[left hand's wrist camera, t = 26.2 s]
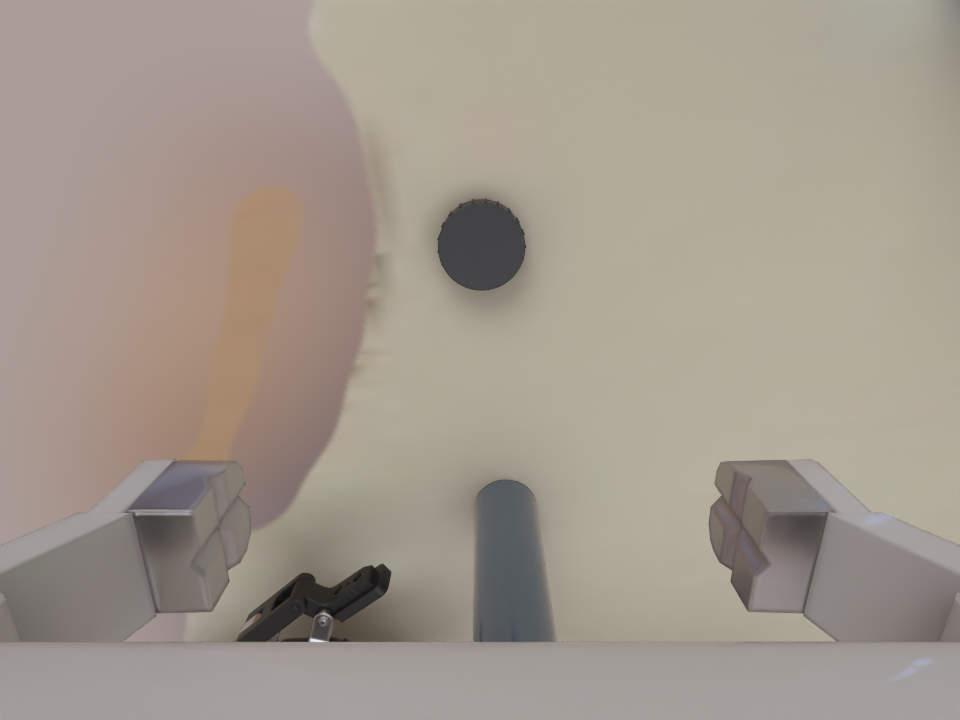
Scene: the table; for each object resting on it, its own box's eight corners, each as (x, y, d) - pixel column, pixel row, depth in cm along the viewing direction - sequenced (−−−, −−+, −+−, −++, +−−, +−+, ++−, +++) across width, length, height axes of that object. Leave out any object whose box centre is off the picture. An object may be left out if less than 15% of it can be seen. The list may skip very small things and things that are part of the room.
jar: (508, 468, 42) (524, 665, 26) (548, 507, 43) (587, 719, 27) (462, 504, 43) (451, 715, 27) (503, 542, 44) (515, 765, 28)
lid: (461, 296, 37) (460, 305, 35) (424, 220, 36) (421, 225, 34) (536, 262, 37) (540, 269, 35) (502, 183, 35) (504, 186, 33)
